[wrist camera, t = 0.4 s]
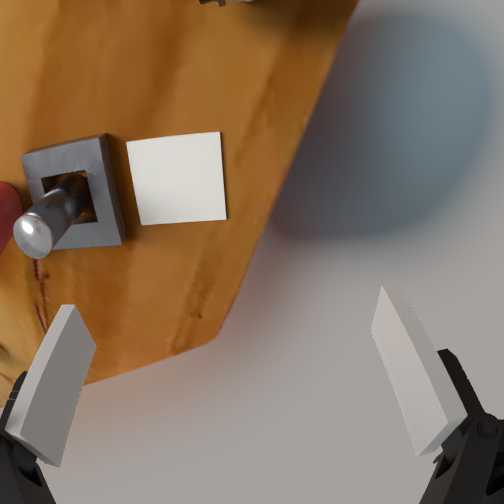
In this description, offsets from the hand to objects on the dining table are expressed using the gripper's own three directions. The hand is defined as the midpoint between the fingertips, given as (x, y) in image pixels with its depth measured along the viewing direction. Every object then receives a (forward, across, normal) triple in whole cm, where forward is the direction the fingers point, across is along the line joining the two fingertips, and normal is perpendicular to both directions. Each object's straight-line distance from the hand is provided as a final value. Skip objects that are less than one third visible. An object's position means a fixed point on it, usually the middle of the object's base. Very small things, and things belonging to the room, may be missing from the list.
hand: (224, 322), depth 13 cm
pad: (+27, -7, -3) cm, 28 cm away
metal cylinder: (+27, -21, -3) cm, 34 cm away
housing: (+27, -21, -3) cm, 34 cm away
